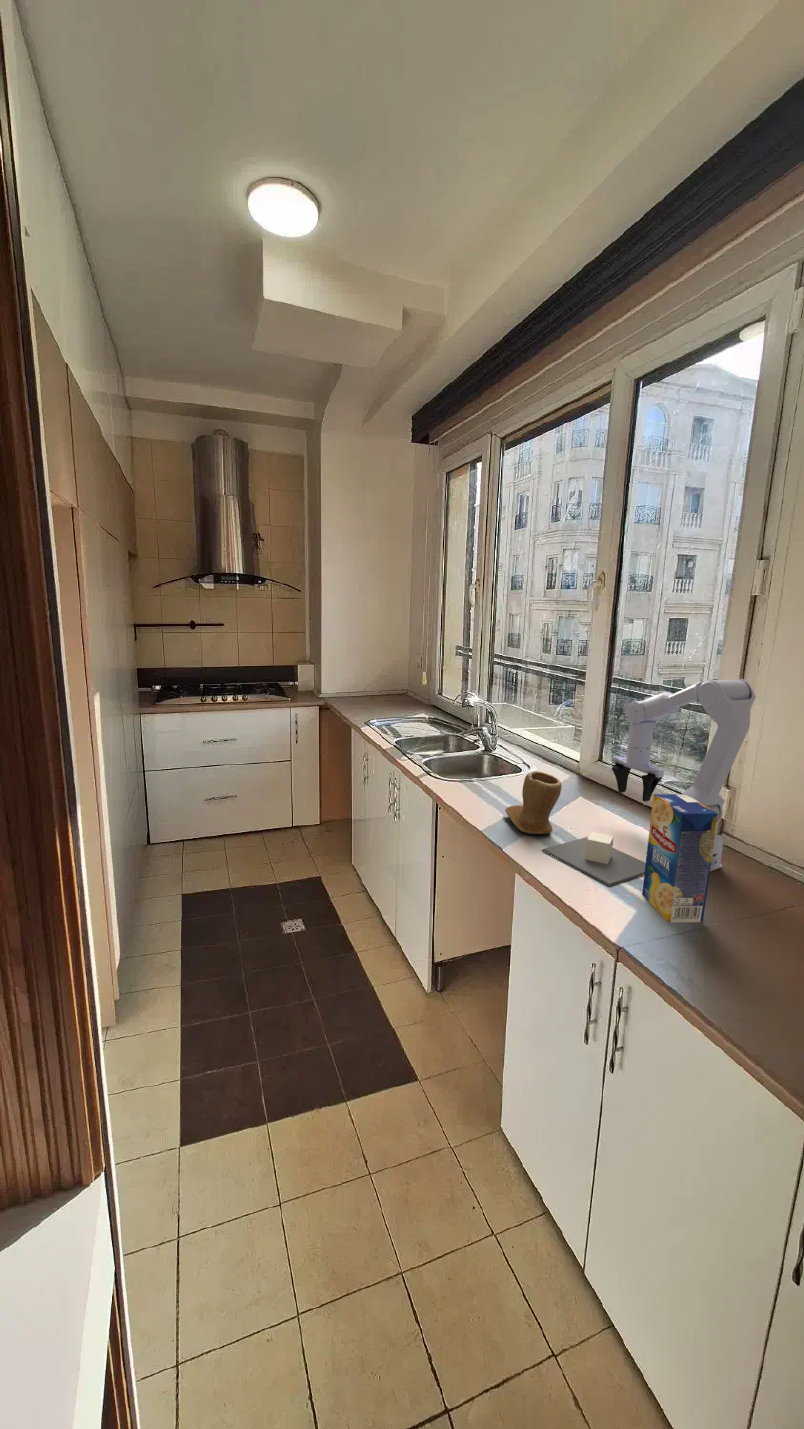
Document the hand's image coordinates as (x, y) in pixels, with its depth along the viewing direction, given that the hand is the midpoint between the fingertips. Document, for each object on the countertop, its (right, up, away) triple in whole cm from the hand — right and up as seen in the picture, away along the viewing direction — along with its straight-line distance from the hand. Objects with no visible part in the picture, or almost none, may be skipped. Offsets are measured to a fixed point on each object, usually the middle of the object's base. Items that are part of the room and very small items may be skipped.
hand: (633, 796), depth 156 cm
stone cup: (-26, -9, +2) cm, 28 cm away
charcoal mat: (-15, -13, -17) cm, 26 cm away
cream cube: (-15, -12, -17) cm, 26 cm away
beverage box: (-7, -17, -38) cm, 42 cm away
